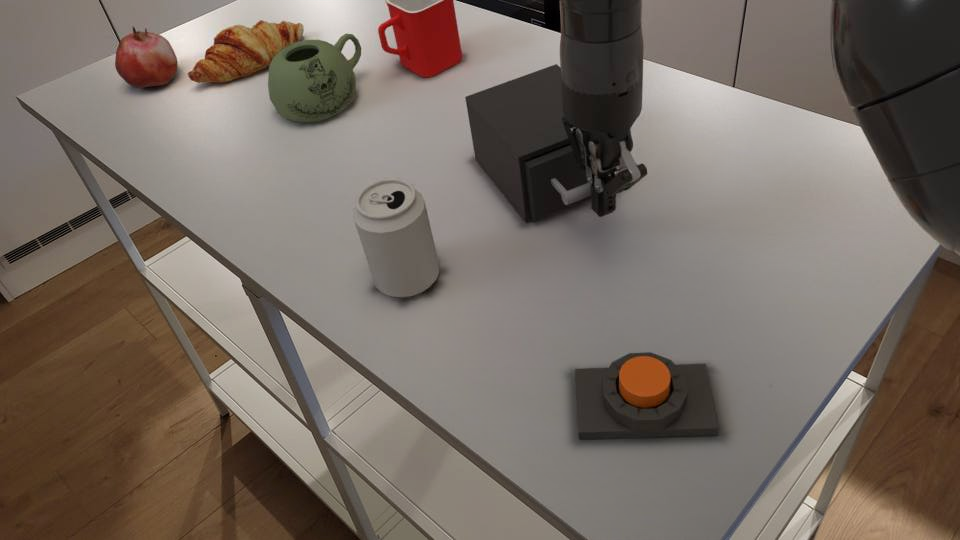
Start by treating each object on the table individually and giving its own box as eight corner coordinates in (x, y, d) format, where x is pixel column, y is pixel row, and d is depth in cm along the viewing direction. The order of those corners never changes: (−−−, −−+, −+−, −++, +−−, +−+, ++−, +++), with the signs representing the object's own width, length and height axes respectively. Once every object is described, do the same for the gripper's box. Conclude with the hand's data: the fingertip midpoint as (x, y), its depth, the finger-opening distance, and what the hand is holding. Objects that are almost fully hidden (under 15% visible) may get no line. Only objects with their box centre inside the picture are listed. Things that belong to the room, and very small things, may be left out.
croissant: (301, 49, 133) (278, 6, 131) (323, 38, 125) (299, -8, 122) (195, 102, 124) (168, 56, 121) (211, 94, 116) (182, 45, 113)
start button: (666, 366, 68) (667, 354, 67) (672, 407, 65) (673, 395, 64) (617, 368, 69) (617, 356, 68) (621, 409, 66) (621, 397, 65)
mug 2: (436, 42, 122) (424, -22, 115) (468, 58, 117) (458, -8, 110) (376, 74, 117) (359, 9, 110) (406, 92, 112) (391, 25, 105)
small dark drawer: (640, 206, 87) (641, 151, 81) (552, 243, 84) (547, 188, 79) (564, 132, 99) (561, 79, 93) (486, 162, 96) (478, 110, 91)
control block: (704, 369, 71) (707, 349, 69) (718, 437, 66) (721, 417, 64) (575, 374, 72) (574, 355, 70) (579, 441, 67) (577, 422, 65)
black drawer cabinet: (619, 185, 91) (619, 118, 84) (525, 223, 88) (518, 157, 82) (560, 127, 101) (556, 63, 94) (475, 160, 98) (464, 96, 92)
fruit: (119, 85, 126) (90, 29, 119) (171, 61, 129) (145, 5, 122) (140, 104, 120) (111, 46, 113) (194, 78, 124) (168, 21, 117)
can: (435, 302, 81) (414, 219, 73) (368, 302, 83) (340, 220, 74) (445, 254, 86) (427, 170, 78) (382, 254, 88) (357, 173, 79)
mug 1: (307, 139, 107) (288, 85, 101) (259, 109, 114) (239, 58, 108) (393, 88, 114) (381, 35, 108) (343, 63, 121) (329, 12, 115)
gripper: (532, 52, 73) (544, 190, 86) (603, 116, 64) (605, 260, 77) (599, 28, 75) (601, 167, 87) (678, 87, 66) (668, 233, 78)
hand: (603, 210), depth 82 cm, fingers closed
